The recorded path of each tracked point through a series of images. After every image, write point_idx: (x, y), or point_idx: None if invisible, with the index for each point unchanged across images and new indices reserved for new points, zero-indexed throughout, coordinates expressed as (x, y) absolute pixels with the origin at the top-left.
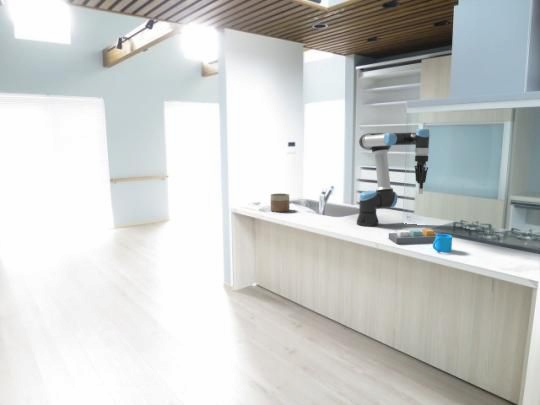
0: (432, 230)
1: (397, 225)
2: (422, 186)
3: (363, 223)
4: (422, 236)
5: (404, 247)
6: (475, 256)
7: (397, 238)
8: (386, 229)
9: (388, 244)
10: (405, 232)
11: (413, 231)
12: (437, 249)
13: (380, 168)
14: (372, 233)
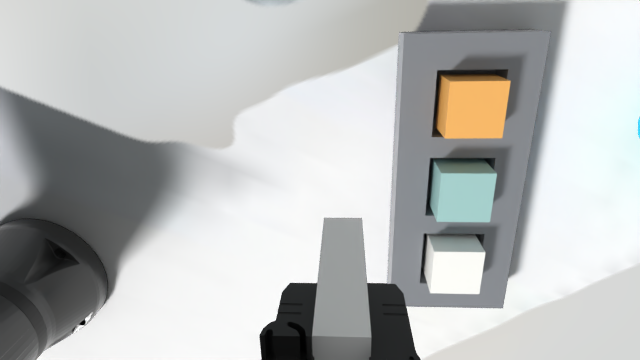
0: (491, 87)
1: (66, 120)
2: (407, 317)
3: (92, 317)
4: (510, 166)
5: (558, 277)
6: None
7: (502, 304)
8: (178, 222)
9: (485, 321)
10: (482, 266)
11: (480, 218)
12: None
13: None
14: (265, 316)
